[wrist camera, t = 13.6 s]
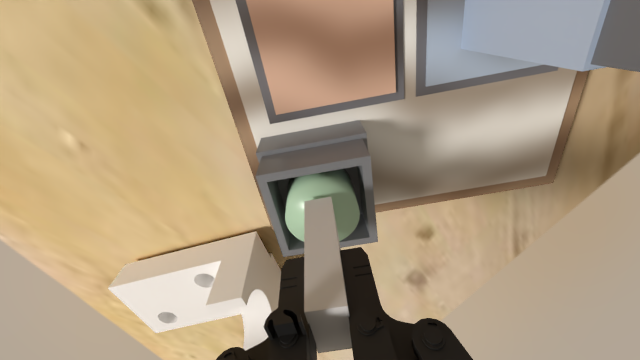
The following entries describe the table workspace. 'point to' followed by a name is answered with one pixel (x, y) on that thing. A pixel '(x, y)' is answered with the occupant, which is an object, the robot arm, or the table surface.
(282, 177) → the button housing
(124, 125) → the table surface
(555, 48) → the grey square prism
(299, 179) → the button
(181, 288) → the bracket
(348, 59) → the wood rimmed sorting board
